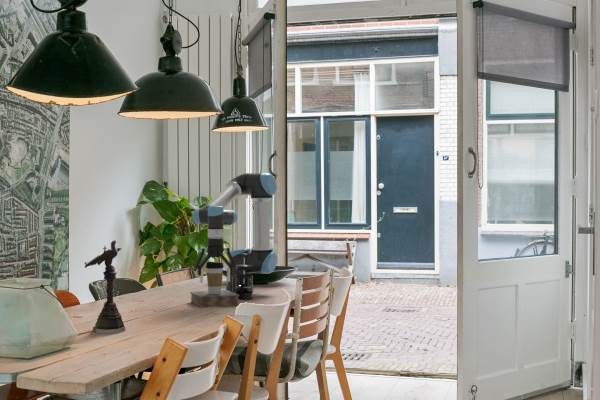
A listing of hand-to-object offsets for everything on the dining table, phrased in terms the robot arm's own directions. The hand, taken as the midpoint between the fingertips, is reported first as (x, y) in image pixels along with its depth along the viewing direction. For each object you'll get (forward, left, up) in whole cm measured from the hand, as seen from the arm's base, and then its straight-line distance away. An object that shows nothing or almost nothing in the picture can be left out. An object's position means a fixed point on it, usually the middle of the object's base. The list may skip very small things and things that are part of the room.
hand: (214, 282), depth 349 cm
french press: (-19, -13, -11) cm, 25 cm away
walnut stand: (0, 0, -11) cm, 11 cm away
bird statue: (+61, +54, -11) cm, 82 cm away
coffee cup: (0, 0, -6) cm, 6 cm away
